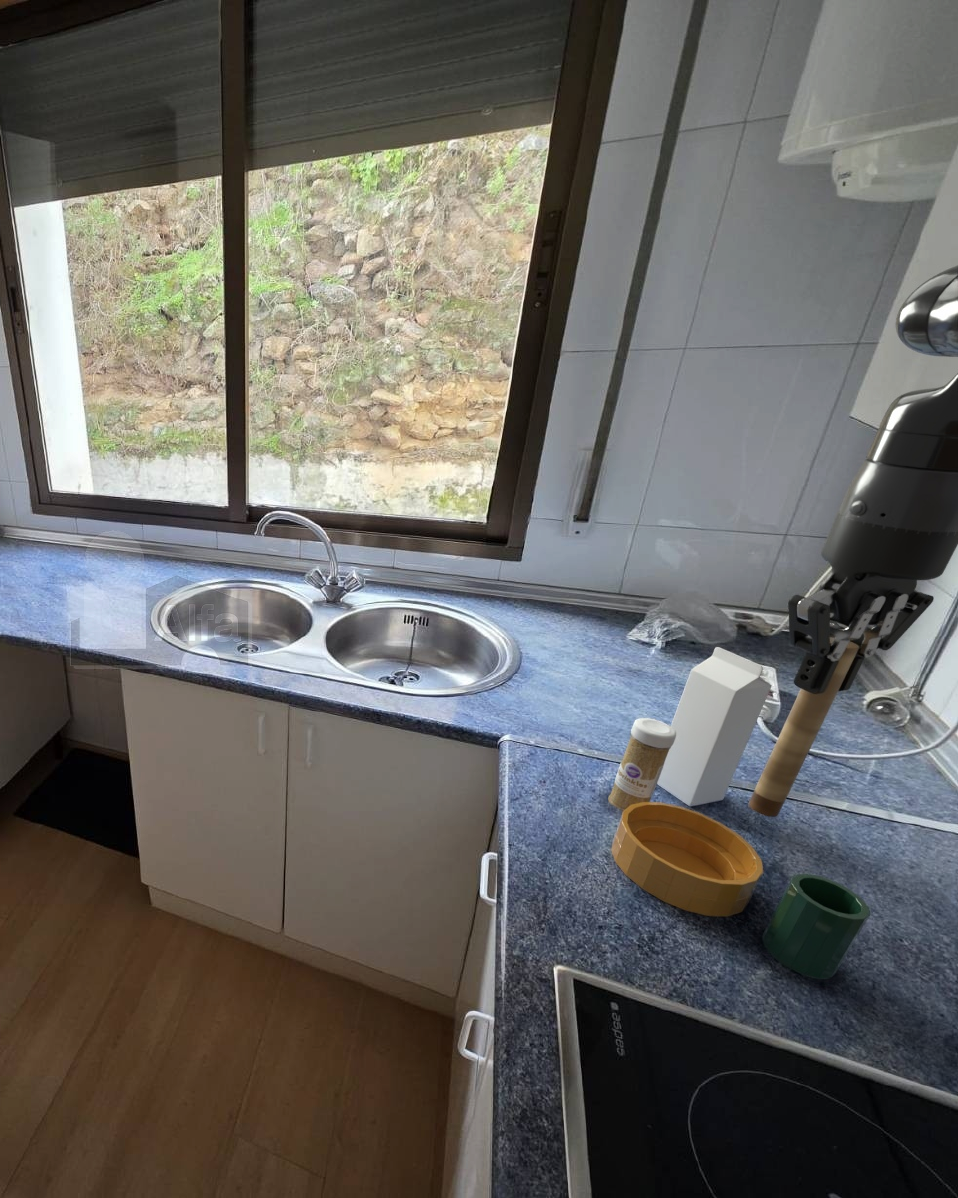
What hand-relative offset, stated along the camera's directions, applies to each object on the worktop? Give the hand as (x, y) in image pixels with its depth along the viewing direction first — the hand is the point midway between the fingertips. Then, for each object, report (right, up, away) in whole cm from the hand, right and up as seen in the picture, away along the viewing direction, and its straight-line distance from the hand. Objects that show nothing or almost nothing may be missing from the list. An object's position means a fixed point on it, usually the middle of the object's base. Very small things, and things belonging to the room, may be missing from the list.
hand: (820, 687), depth 61 cm
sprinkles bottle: (+1, -21, +27) cm, 34 cm away
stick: (0, -14, +6) cm, 15 cm away
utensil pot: (+3, -30, +5) cm, 30 cm away
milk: (+12, -19, +30) cm, 38 cm away
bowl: (-1, -25, +16) cm, 30 cm away
